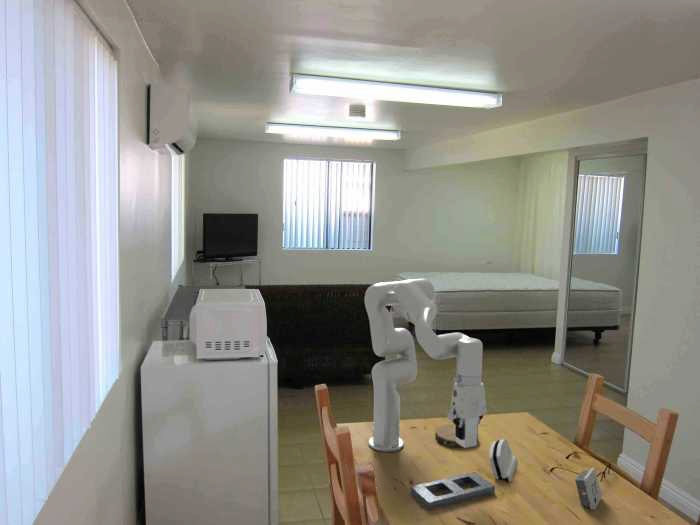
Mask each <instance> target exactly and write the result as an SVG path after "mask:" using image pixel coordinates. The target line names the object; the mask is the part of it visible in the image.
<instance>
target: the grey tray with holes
mask: <svg viewBox="0 0 700 525" xmlns="http://www.w3.org/2000/svg"><path fill="white" fill-rule="evenodd" d="M467 485H469V486H470V487H472V488H467V489H463V488H462V487H463V486H467ZM441 491H442V492H444V494H443V495H439V496H436V495H435V494H433V493H435V492H441ZM495 493H496V485H494V484H493V483H491V482H490V481H488V480H487V479H486V478H485V477H483V476H481V475H480V474H479V473H477V472H475V471H471V472H468V473H464V474H463V473H462V474H459V475H455V476H451V477H447V478H442V479H438V480H434V481H433V480H432V481H429V482H424V483H421V484H420V483H419V484H417V485H416V484H415V485H412V486H410V495H411V496H412V497H413V498H414V499H415V500H416V501H417V502H418V503H419V504H420V505H422V506H423V507H424V509H426V510H427V511H433V510H437V509H441V508H445V507H449V506H452V505H456V504H461V503H465V502H467V501H471V500H476V499H479V498H484V497H488V496H491V495H496V494H495Z"/></svg>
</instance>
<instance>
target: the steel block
mask: <svg viewBox="0 0 700 525" xmlns="http://www.w3.org/2000/svg"><path fill="white" fill-rule="evenodd" d="M459 420H460V418H459ZM462 427H464V436H463V440H460V439H459V438H457V437H456V443H458V444H459V445H461V446H463V447H464V448H463V449H468V448H467V447H470V448H473V447H476V446H478V443H477V429H478V430H479V424H478V417H473V418H467V419H464V421H463V425H462ZM472 446H473V447H472Z"/></svg>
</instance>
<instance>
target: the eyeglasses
mask: <svg viewBox="0 0 700 525" xmlns="http://www.w3.org/2000/svg"><path fill="white" fill-rule="evenodd" d="M573 454H581V452H579V451H576V452H572V453H569V454H568V455H566V457H565V458H566V459H565V460H569V458H570V457H571V456H572V455H573ZM583 454H584V455H586V456H590V457H591V458H594V459H597V460H599V461H601V462H604V463H607V464H608V465H607V466H606V467H605V468H604V471H600V472H599V473H598V474H596V475H597V478H598V477H599V476H600V480H599V482H600V483H602V481H603V479H605V478H606V471H607V473H608V474H610V470H611V466H612V462H611V461H610V462H609V461H607V460H604V459H601V458H598V457H596V456H594V455H590V454H589V453H585V452H582V455H583ZM555 469H561V470H565V471H568V472H571V473H574V474H577V475H579V474H580V472H575V471H572V470H569V469H567V468H566V469H565V468H563V467H558V466H556V467H555V466H554V467H552V468H551V469H550V470H549V472H550V473H552V472H553V471H555ZM607 469H608V470H607Z"/></svg>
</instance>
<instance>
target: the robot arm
mask: <svg viewBox="0 0 700 525" xmlns="http://www.w3.org/2000/svg"><path fill="white" fill-rule="evenodd" d="M435 294H436V292H435V287H434V285H433V284H432V282H431V281H429V280H428V279H425V278H417V279H416V278H413V279H405V280H399V281H385V282H378V283H375V284H371V285H370V286H369V287H367V289H366V291H365V294H364V305H365V309H366V312H367V316H368V320H369V329H370V336H371V337H370V338H371V344H372V345H371V346H372V350H373V352H374V354H375V355H376V356H377V357H383V358H384V357H390V356H396V358H391V359H386V360H385V359H384V360H381V361H379V362H377V363H375V364H374V366H372V369H371V378H372V379H371V380H372V385H373V427H372V428H371V432H372V437H370V438H369V440H368V445H369V447H370V448H371V449H372V450H373V449H374V450H376V451H378V452H390V453H391V452H396V451H399V450H401V449H402V448H403V447H404V441H403V439H401V438H400V422H401V421H400V420H401V419H400V418H401V415H400V413H401V397H400V394H399V392H398V391H397V389H396V386H401V385H403V384H409V383H411V382H413V381H415V380H416V378H417V376H418V363H417V354H416V347H415V341H414V337H413V335H412V334H411V332H410V331H409V330H408V329H407V328H404V327H395V326H394V320H393V316H392V314H391V312H390V311H389V309H388V308H387V307H388V306H398V305H401V306H402V307H403V308H404V310H405V311H406V312H407V313H408V315H409V316H410V317H411V318H412V320H413V321H414V323H415V324H414V333H415V336H416V341H417V342H418V344H419V346H420V347H421V349H422V350H424V352H425V353H426V354H427V356H428V357H430V358H432V359H433V360H434V361H435V360H436V361H442V360H446V359H447V360H448V359H450V358H451V359H452V358H453V359H454V358H456V367H455V368H456V370H455V372H456V374H455V376H454V377H453V378H452V379H453V382H454V384H453V388H452V393H451V401H450V402H451V403H450V410H449V411H448V413H447V415H446V418H447V419H448V420H449V421H451V422H452V424H455V425H456V432H455V434H456V437H457V438H459V439H460V440H463V436H464V427H462V425H463V421H464V419H467V418H473V417H478V425H480V423H481V420H482V419H483V418H484V416H486V414H487V413H488V408H487V407H486V405H487V404H486V401H487V400H486V391H485V390H486V389H485V386H484V385H485V384H484V383H483V382H482V373H483V372H482V370H483V369H482V368H483V346H484V344H483V342H482V341H481V340H480V339H478V338H474V337H470V336H468V335H466V334H464V333H462V332H458V331H457V332H451V333H444V334H438V335H437V334H436V332H434V331H433V329H432V328H431V326H429V324H431V322H432V321H433V320H434V319H435V317H436V315H437V313H438V307H437V306H436V304H434V302H433V299H434V297H435ZM459 418H460V420H459ZM477 437H478V438H479V428H478V429H477Z"/></svg>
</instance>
